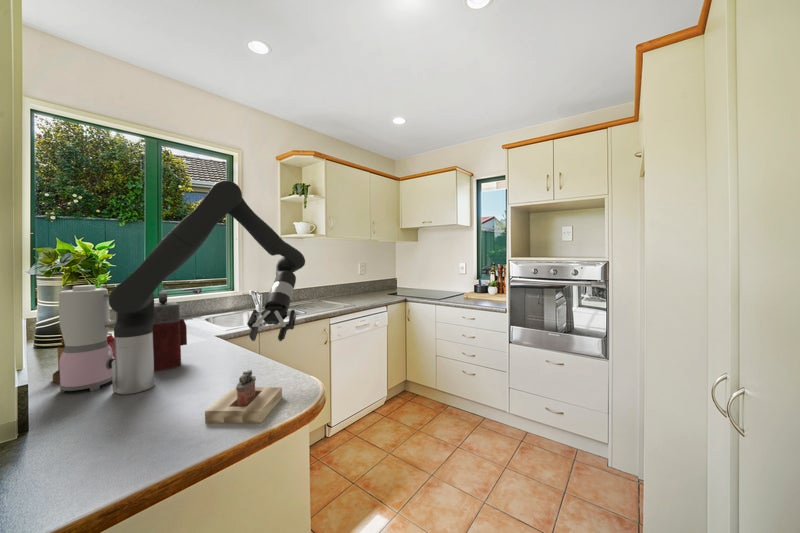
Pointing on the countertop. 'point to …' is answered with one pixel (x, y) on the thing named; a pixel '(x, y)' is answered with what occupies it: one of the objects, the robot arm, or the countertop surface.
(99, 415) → the countertop surface
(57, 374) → the mortar and pestle
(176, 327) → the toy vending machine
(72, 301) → the blender
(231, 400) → the rail
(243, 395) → the lighter
